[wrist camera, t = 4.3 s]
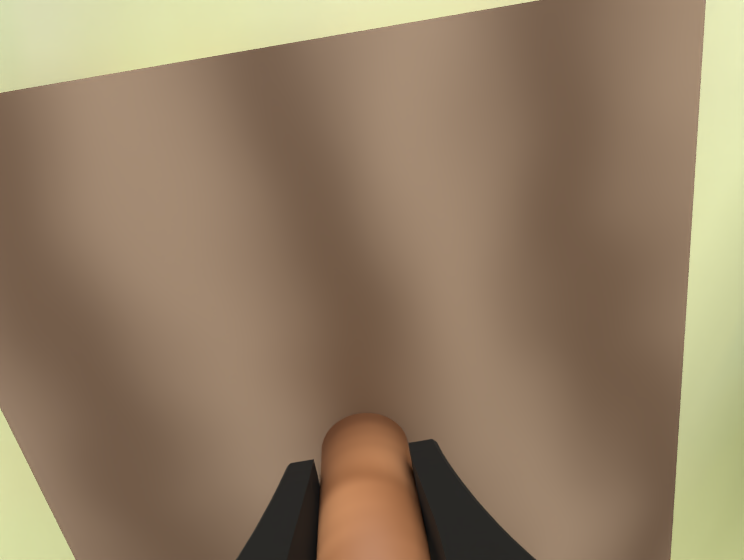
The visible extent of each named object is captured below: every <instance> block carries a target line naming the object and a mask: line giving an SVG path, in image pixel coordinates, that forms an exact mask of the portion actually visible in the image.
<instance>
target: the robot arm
mask: <svg viewBox="0 0 744 560" xmlns="http://www.w3.org/2000/svg"><path fill="white" fill-rule="evenodd" d="M409 449H410V455H411V462H412V468H413V473H414V478H415V483H416V488H417V493H418V498H419V503H420V507H421V511H422V516H423V521H424V526H425V531H426V536H427V541H428V546H429V551H430V556H431V560H536V559H535V558H534V557H533V556H532V555H531V554H529V553H528V552H527V551H526V550H525V549H524V548H523V547H522V546H521V545H520V544H519V543H517V542H516V541H515V540H514V539H513V538H512V537H511V536H510V535H509V534H508V533H507V532H506V531H505V530H504V529H503V528H502V527H501V526H500V525H499V524H498V523H497V522H496V521H495V519H494V518H493V517H492V516H491V515H490V514H489V513H488V512H487V511H486V510H485V509H484V507H483V506H482V505H481V504H480V503H479V502H478V500H477V499H476V498H475V497H474V496H473V494H472V493H471V492H470V491H469V489H468V488H467V487H466V486H465V484H464V483H463V482H462V480H461V479H460V478H459V476H458V475H457V474H456V472H455V471H454V469H453V468H452V467H451V465H450V464H449V462H448V461H447V459H446V457H445V456H444V454H443V453H442V451H441V449H440V447H439V445H438V443H437V442H436V441H435V440H433V439H428V440H422V441H417V442H411V443H409ZM319 497H320V483H319V479H318V475H317V471H316V467H315V462H314V459H312V460H306V461H300V462H294V463H290V464H289V465H288V466H287V468H286V470H285V472H284V474H283V476H282V479H281V481H280V483H279V485H278V487H277V489H276V491H275V493H274V495H273V497H272V499H271V500H270V502H269V504H268V506H267V508H266V510H265V512H264V513H263V515H262V517H261V519H260V521H259V522H258V524H257V526H256V528H255V530H254V531H253V533H252V535H251V536H250V538H249V540H248V541H247V543H246V544H245V546H244V548H243V549H242V551H241V552H240V554H239V556H238V557H237V559H236V560H316V559H317V538H318V518H319Z"/></svg>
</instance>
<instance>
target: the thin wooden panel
mask: <svg viewBox="0 0 744 560" xmlns="http://www.w3.org/2000/svg"><path fill="white" fill-rule="evenodd" d="M705 4H706V0H539V1H533V2H527V3H522V4H516V5H510V6H504V7H498V8H492V9H487V10H481V11H475V12H469V13H463V14H458V15H452V16H446V17H440V18H434V19H428V20H423V21H417V22H411V23H405V24H399V25H393V26H388V27H382V28H376V29H370V30H364V31H358V32H353V33H347V34H341V35H335V36H329V37H323V38H318V39H312V40H306V41H300V42H294V43H289V44H283V45H277V46H271V47H265V48H259V49H254V50H248V51H242V52H236V53H230V54H224V55H219V56H213V57H207V58H201V59H195V60H189V61H184V62H178V63H172V64H166V65H160V66H155V67H149V68H143V69H137V70H131V71H125V72H120V73H114V74H108V75H102V76H96V77H90V78H85V79H79V80H73V81H67V82H61V83H55V84H50V85H44V86H38V87H32V88H26V89H20V90H15V91H9V92H3V93H0V408H1V410H2V412H3V414H4V416H5V418H6V420H7V422H8V424H9V426H10V428H11V430H12V432H13V434H14V436H15V438H16V440H17V442H18V444H19V446H20V448H21V450H22V452H23V454H24V456H25V458H26V460H27V462H28V464H29V467H30V469H31V471H32V473H33V475H34V477H35V479H36V481H37V483H38V485H39V487H40V489H41V491H42V493H43V495H44V497H45V499H46V501H47V503H48V505H49V507H50V509H51V511H52V513H53V515H54V517H55V519H56V521H57V523H58V525H59V527H60V529H61V531H62V533H63V535H64V537H65V539H66V541H67V543H68V545H69V547H70V549H71V551H72V553H73V555H74V557H75V559H76V560H236V559H237V557H238V556H239V554H240V552H241V551H242V549H243V548H244V546H245V544H246V543H247V541H248V540H249V538H250V536H251V535H252V533H253V531H254V530H255V528H256V526H257V524H258V522H259V521H260V519H261V517H262V515H263V513H264V512H265V510H266V508H267V506H268V504H269V502H270V500H271V499H272V497H273V495H274V493H275V491H276V489H277V487H278V485H279V483H280V481H281V479H282V476H283V474H284V472H285V470H286V468H287V466H288V465H289V464H290V463H294V462H300V461H306V460H312V459H314V462H315V467H316V471H317V475H318V479H319V483H320V476H321V456H322V444H323V440H324V438H325V436H326V434H327V432H328V431H329V430H330V428H331V427H332V426H333V425H335V424H336V423H337V422H338V421H340V420H342V419H344V418H346V417H348V416H351V415H354V414H359V413H375V414H379V415H383V416H385V417H388V418H390V419H391V420H393V421H394V422H396V423H397V424H398V425H399V426H400V427H401V428H402V430H403V431H404V433H405V435H406V438H407V442H408V447H409V443H411V442H417V441H422V440H428V439H433V440H435V441H436V442H437V443H438V445H439V447H440V449H441V451H442V453H443V454H444V456H445V457H446V459H447V461H448V462H449V464H450V465H451V467H452V468H453V469H454V471H455V472H456V474H457V475H458V476H459V478H460V479H461V480H462V482H463V483H464V484H465V486H466V487H467V488H468V489H469V491H470V492H471V493H472V494H473V496H474V497H475V498H476V499H477V500H478V502H479V503H480V504H481V505H482V506H483V507H484V509H485V510H486V511H487V512H488V513H489V514H490V515H491V516H492V517H493V518H494V519H495V521H496V522H497V523H498V524H499V525H500V526H501V527H502V528H503V529H504V530H505V531H506V532H507V533H508V534H509V535H510V536H511V537H512V538H513V539H514V540H515V541H516V542H517V543H519V544H520V545H521V546H522V547H523V548H524V549H525V550H526V551H527V552H528V553H529V554H531V555H532V556H533V557H534V558H535V559H536V560H670V557H671V541H672V525H673V509H674V494H675V478H676V462H677V446H678V430H679V415H680V399H681V383H682V367H683V352H684V336H685V320H686V304H687V288H688V273H689V257H690V241H691V225H692V210H693V194H694V178H695V162H696V146H697V131H698V115H699V99H700V83H701V67H702V52H703V36H704V20H705ZM409 452H410V449H409ZM410 457H411V455H410Z"/></svg>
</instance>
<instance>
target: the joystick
mask: <svg viewBox="0 0 744 560" xmlns="http://www.w3.org/2000/svg"><path fill="white" fill-rule="evenodd" d="M316 560H431V556H430V551H429V546H428V541H427V536H426V531H425V526H424V521H423V516H422V511H421V507H420V503H419V498H418V493H417V488H416V483H415V478H414V473H413V468H412V462H411V457H410V452H409V447H408V442H407V438H406V435H405V433H404V431H403V430H402V428H401V427H400V426H399V425H398V424H397V423H396V422H394V421H393V420H391V419H390V418H388V417H385V416H383V415H379V414H375V413H359V414H354V415H351V416H348V417H346V418H344V419H342V420H340V421H338V422H337V423H336V424H335V425H333V426H332V427H331V428H330V430H329V431H328V432H327V434H326V436H325V438H324V440H323V444H322V456H321V476H320V497H319V518H318V538H317V559H316Z"/></svg>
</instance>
